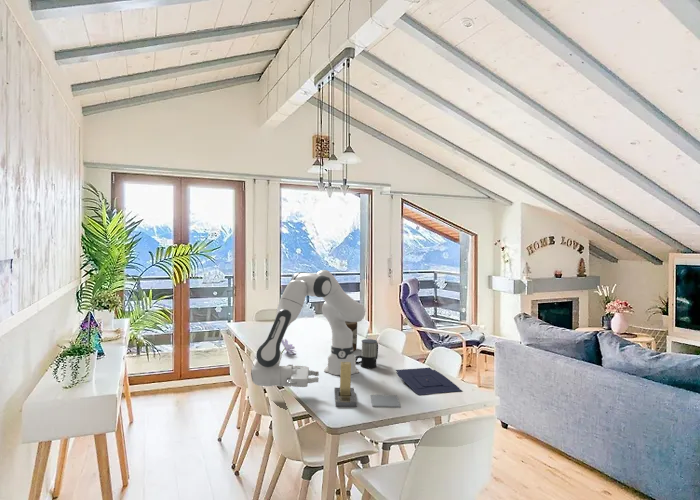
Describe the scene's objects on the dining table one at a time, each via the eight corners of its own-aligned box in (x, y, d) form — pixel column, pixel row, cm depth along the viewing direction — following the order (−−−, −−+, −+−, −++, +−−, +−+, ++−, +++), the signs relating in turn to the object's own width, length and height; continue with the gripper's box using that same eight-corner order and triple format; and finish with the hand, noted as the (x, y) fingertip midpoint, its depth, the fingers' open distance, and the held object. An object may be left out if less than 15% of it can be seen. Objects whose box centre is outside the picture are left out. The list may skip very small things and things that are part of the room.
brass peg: (339, 396, 212) (340, 361, 211) (349, 396, 212) (350, 361, 212) (340, 399, 207) (341, 364, 207) (350, 400, 207) (351, 364, 207)
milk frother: (375, 369, 259) (376, 342, 259) (347, 367, 262) (348, 340, 262) (379, 363, 273) (379, 338, 273) (352, 360, 276) (353, 336, 276)
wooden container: (356, 352, 298) (357, 318, 298) (333, 351, 298) (334, 317, 298) (356, 347, 313) (357, 314, 312) (334, 346, 313) (335, 314, 313)
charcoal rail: (334, 391, 218) (334, 387, 218) (353, 391, 219) (353, 387, 219) (335, 406, 198) (335, 402, 198) (356, 407, 199) (356, 402, 199)
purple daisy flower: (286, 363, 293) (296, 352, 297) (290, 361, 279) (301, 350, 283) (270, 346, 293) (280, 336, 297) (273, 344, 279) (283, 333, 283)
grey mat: (370, 396, 214) (370, 394, 214) (396, 396, 214) (396, 395, 214) (372, 406, 200) (372, 405, 200) (400, 407, 200) (400, 406, 200)
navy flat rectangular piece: (432, 372, 253) (432, 365, 252) (462, 396, 224) (463, 389, 224) (391, 375, 244) (392, 368, 244) (417, 400, 216) (418, 393, 216)
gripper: (286, 375, 197) (318, 376, 198) (289, 363, 218) (318, 363, 219) (285, 390, 197) (318, 391, 198) (289, 376, 218) (318, 377, 219)
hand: (318, 376), depth 209 cm, fingers open, 8 cm apart
